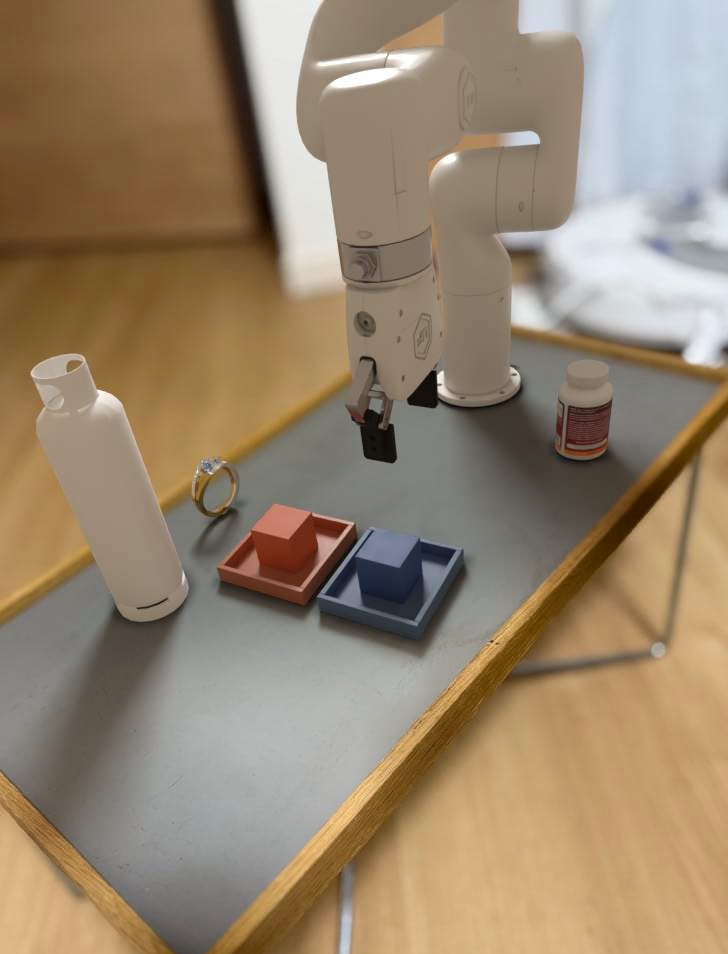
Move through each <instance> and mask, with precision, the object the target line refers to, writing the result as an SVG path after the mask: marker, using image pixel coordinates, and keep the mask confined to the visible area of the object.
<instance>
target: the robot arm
mask: <svg viewBox="0 0 728 954" xmlns="http://www.w3.org/2000/svg"><path fill="white" fill-rule="evenodd" d="M519 13H520V0H322V1H321V3H320V4H319V5H318V8H317V10H316V11H315V13H314V16H313V17H312V21H311V23H310V27H309V30H308V34H307V38H306V43H305V45H304V46H305V47H304V51H303V54H302V60H301V64H300V69H299V75H298V79H297V80H298V81H297V87H296V89H297V90H296V99H295V100H296V101H295V105H296V106H295V115H296V123H297V130H298V134H299V137H300V138H301V142H302V144H303V145H304V147H305V149H306V151H307V152H308V153H309V155H311V156H312V157H313V158H314V159H316V160H318V161H320V162H322V163H325V164H326V171H327V178H328V179H327V180H328V185H329V186H328V187H329V193H330V201H331V208H332V215H333V221H334V230H335V236H336V244H337V251H338V258H339V264H340V265H339V266H340V271H341V278H342V281H343V282H344V283H345V284H346V285H345V324H346V327H345V328H346V341H347V351H348V361H349V368H350V374H351V379H352V381H351V384H350V386H349V389H348V390H347V393H346V395H345V397H344V398H345V399H344V407H345V408H346V410H347V412H348V413H349V415H350V419H351V421H352V422H353V423H355V425H356V426H357V427H359V431H360V432H359V433H360V439H361V445H362V452H363V453H362V454H363V457H364V458H365V459H366V460H370V461H375V462H381V463H386V464H390V465H391V464H392V465H393V464H394V463H395V462H396V461H397V460H398V452H397V451H398V450H397V443H396V434H395V433H396V432H395V424H394V423H390V421H391V415H392V411H393V405H394V401H396V402H397V403H398V402H399V403H401V402H404V401H406V402H407V404H408V405H409V406H412V407H419V408H420V407H421V408H425V409H427V408H428V409H433V410H434V409H436V408H437V407H438V405H439V399H440V400H442V401H443V402H445V403H447V404H449V405H453V406H457V407H465V408H478V407H479V408H480V407H481V408H482V407H488V406H493V405H497V404H500V403H503V402H505V401H507V400H509V399H511V398H512V397H513V396H515V395H516V394H517V393H518V392H519V390H520V388H521V382H522V381H521V374H520V373H519V371H518V370H516V369H515V368H514V367H513V366H511V346H512V339H511V336H512V301H513V300H512V295H513V265H512V260H511V257H510V255H509V252H508V251H507V249H506V248H505V246H504V245H503V243H502V241H501V240H500V239H499V238H498V237H497V235H499V234H509V233H535V232H546V231H547V232H548V231H554V230H557V229H560V227H562V226H563V225H565V224H566V223H567V221H568V220H569V218H570V216H571V213H572V211H573V207H574V202H575V197H576V188H577V180H578V179H577V178H578V177H577V176H578V164H579V153H580V151H579V150H580V138H581V128H582V127H581V125H582V113H583V99H584V82H585V61H584V52H583V48H582V44H581V42H580V40H579V38H578V37H577V36H576V35H575V34H574V33H572V32H571V31H569V30H564V29H550V30H541V31H535V32H526V33H520V30H519ZM439 15H441V45H439V44H437V45H423V46H415V47H409V48H402V49H401V48H400V49H387V50H381V49H382V48H384V47H385V46H387V45H388V44H390V43H391V42H393V41H395V40H397V39H399V38H401V37H403V36H404V35H406V34H408V33H410V32H412V31H414V30H416V29H418V28H420V27H422V26H423V25H425V24H427V23H428V22H430V21H432V20H433V19H434V18H436V17H438V16H439ZM380 50H381V51H380ZM523 132H532V133H535V134H536V135H537V136H538V138H539V143H534V144H522V145H521V144H520V145H508V146H504V145H502V146H501V145H500V146H490V147H488V146H487V147H479V148H469V149H468V148H467V149H462V150H458V151H455V152H452V153H450V152H451V151H453V150H454V149H455V148H456V147H457V146H458V145H459V144H460V142H462V140H463V139H464V137H465V136H489V135H501V134H510V133H523ZM446 154H447V155H446ZM443 156H444V157H443ZM440 157H441V159H440V160H439V161H438V162H437V163H436V164H435V165H434V167H433V169H432V170H431V172H430V175H429V166H428V162H431V161H433V160H435V159H438V158H440ZM442 157H443V158H442ZM432 223H433V228H434V233H435V239H436V240H435V241H436V246H437V247H436V248H437V256H438V257H437V258H438V272H439V274H438V275H439V287H438V282H437V276H436V271H435V265H434V253H433V236H432ZM438 288H439V289H438ZM441 358H442V369H443V370H441V371H440V372H439V373H438V371H437V370H436V369H437V368H438V363H439V361H440V359H441ZM376 385H379V386H380V387H381V389H382V391H381V390H374V389H373V388H374V386H376ZM372 399H374V400H380V401H381V405H380V410H379V412H377V411H375V410H374V409H371V408H370V405H371V400H372Z"/></svg>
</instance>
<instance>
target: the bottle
mask: <svg viewBox="0 0 728 954" xmlns="http://www.w3.org/2000/svg"><path fill="white" fill-rule="evenodd" d="M71 361H79V362H82V363H81V364H80V365H79V366H78V367H77V368H75V369H73V370H71V371H68V372H67V366H68V363H69V362H71ZM30 376H31V379H32V381H33V383H34V386H35V387H36V389H37V391H38V394H39V397H40V399H41V401H42V403H43V405H44V407H42V409H41V412H40V413H39V415H38V416H37V418H36V419H35V435H36V437H37V439H38V441H39V443H40V446H41V447H42V449H43V450H42V451H43V452H44V454H45V456H46V459H47V460H48V463H49V465H50V467H51V469H52V471H53V473H54V475H55V478H56V479H57V482H58V484H59V486H60V488H61V490H62V492H63V494H64V497H65V499H66V501H67V503H68V505H69V507H70V509H71V512H72V514H73V516H74V518H75V520H76V522H77V525H78V527H79V529H80V530H81V533H82V535H83V538H84V539H85V541H86V543H87V546H88V548H89V550H90V552H91V555H92V556H93V558H94V561H95V563H96V565H97V568H98V569H99V571H100V574H101V576H102V578H103V580H104V582H105V584H106V586H107V588H108V591H109V593H110V594H111V596H112V597H113V602H114V603H115V605H116V608H117V610H118V611H119V613H120V614H121V616H122V617H124V618H125V619H127V620H129V621H131V622H139V623H144V622H153V621H156V620H159V619H162V618H165V617H167V616H168V615H170V614H172V613H174V612H175V611H176V610H178V608H179V607H181V605H182V604H183V603H184V602H185V600H186V599H187V597H188V593H189V589H190V587H189V583H188V579H187V577H186V575H185V571H184V569H183V568H182V567H183V566H182V564H181V561H180V558H179V555H178V552H177V550H176V547H175V544H174V542H173V538H172V536H171V533H170V530H169V528H168V526H167V522H166V519H165V516H164V513H163V511H162V508H161V506H160V503H159V500H158V498H157V495H156V492H155V490H154V487H153V485H152V481H151V479H150V476H149V473H148V471H147V468H146V465H145V462H144V460H143V456H142V454H141V452H140V449H139V446H138V443H137V441H136V438H135V435H134V433H133V430H132V426H131V424H130V421H129V419H128V416H127V413H126V411H125V408H124V405H123V403H122V402H121V401H120V400H119V399H118V398H117V397H116V396H115V395H113V394H112V393H110V392H107V391H104V390H101V389H97V386H96V384H95V380H94V378H93V376H92V374H91V371H90V369H89V366H88V362H87V360H86V357H85V356H83V355H82V354H78V353H66V354H60V355H56V356H52V357H50V358H48V359H45V360H43V361H41V362H40V363H37V364H36V365H35V366H34V367H33V368H32V370H31V371H30ZM162 601H163V602H162ZM160 602H161V603H160ZM158 603H159V604H158ZM156 604H157V605H156Z"/></svg>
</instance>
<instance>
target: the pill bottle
mask: <svg viewBox="0 0 728 954" xmlns="http://www.w3.org/2000/svg"><path fill="white" fill-rule="evenodd" d="M609 375H610V367H609V366H608V364H607V363H605V362H603V361H601V360H597V359H580V360H576V361H573V362H571V363H569V364H568V365H567V367H566V372H565V381H564V382H563V383H561V385H560V387H559V389H558V395H557V410H556V425H555V437H554V438H555V439H554V447H555V450H556V451H557V453H558V454H560V455H561V456H563V457H564V458H567V459H569V460H575V461H590V460H593V459H596V458H598V457H600V456H602V455H603V454H605V452H606V450H607V447H608V442H609V441H608V440H609V431H610V423H611V416H612V407H613V400H614V399H613V398H614V388H613V385H612V384H611V382H609V381H608V380H609Z"/></svg>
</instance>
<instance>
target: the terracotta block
mask: <svg viewBox="0 0 728 954" xmlns="http://www.w3.org/2000/svg"><path fill="white" fill-rule="evenodd" d="M312 513H313V512H312V511H308V510H304V509H300V508H296V507H291V506H288V505H287V506H286V505H282V504H279V503H273V504H272V505H271V506H270V508H269V509H268V510H267V511H266V512H265V513H264V514H263V515H262V516H261V517H260V518H259V520H258V521H257V522H256V523H255V524H253V526H252V527H251V528H250V530H249V531H251V534H252V538H253V542H254V545H255V549H256V553H257V556H258V560H259V563H260V564H263V565H266V566H270V567H273V568H277V569H281V570H284V571H288V572H291V573H295V574H297V573H298V571H299V570H300V569H301V568H302V566H303V565H304V564H305V563H306V561H307V560H308V559H309V558H310V556H311V555H312V554H313V553H314V551H315V550H316V549H317V548H318V541H317V536H316V531H315V526H314V521H313V516H312Z"/></svg>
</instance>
